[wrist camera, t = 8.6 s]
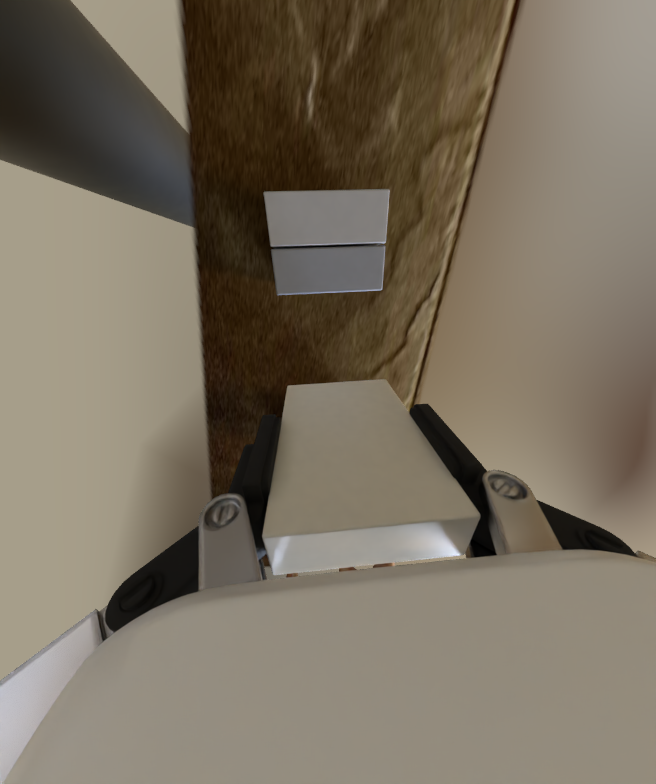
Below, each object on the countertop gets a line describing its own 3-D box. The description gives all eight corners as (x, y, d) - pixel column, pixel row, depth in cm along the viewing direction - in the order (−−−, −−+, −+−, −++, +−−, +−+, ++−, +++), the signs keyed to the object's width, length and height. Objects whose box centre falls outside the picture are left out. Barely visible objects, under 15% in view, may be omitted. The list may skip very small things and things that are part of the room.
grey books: (287, 285, 20) (276, 295, 13) (280, 220, 18) (263, 190, 11) (356, 282, 20) (382, 290, 13) (357, 218, 18) (390, 188, 11)
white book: (290, 413, 15) (272, 576, 7) (287, 385, 14) (260, 537, 6) (383, 406, 15) (465, 556, 7) (385, 378, 14) (483, 515, 6)
